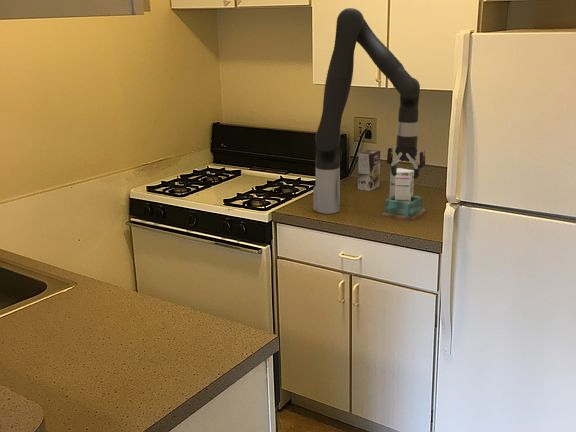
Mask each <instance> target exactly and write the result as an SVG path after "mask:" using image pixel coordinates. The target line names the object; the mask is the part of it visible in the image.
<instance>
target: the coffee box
mask: <svg viewBox="0 0 576 432" xmlns="http://www.w3.org/2000/svg"><path fill="white" fill-rule="evenodd" d="M357 164H358V165H357V166H358V168H357V170H358V172H357V190H360V191H367V192H371V191H374V190H375V189H377V188H379V187H380V173H381V172H380V170H381V169H380V168H381V150H375V149H366V150H363V151H361V152H359V153H358V163H357Z"/></svg>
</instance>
